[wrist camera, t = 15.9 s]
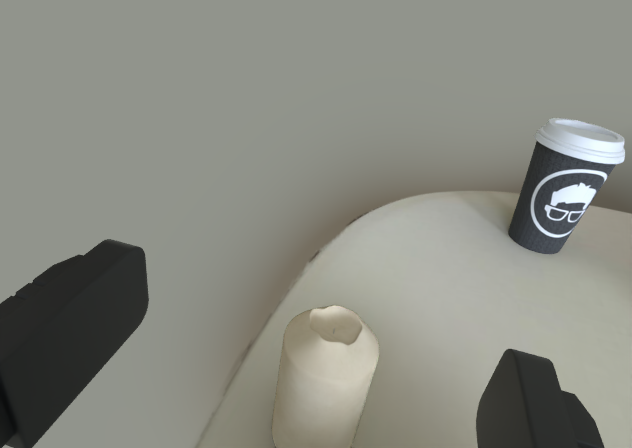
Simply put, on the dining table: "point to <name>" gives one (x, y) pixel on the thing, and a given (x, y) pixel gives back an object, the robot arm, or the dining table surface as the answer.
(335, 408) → the candle
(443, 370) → the dining table surface
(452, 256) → the dining table surface
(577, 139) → the coffee cup
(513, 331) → the dining table surface
